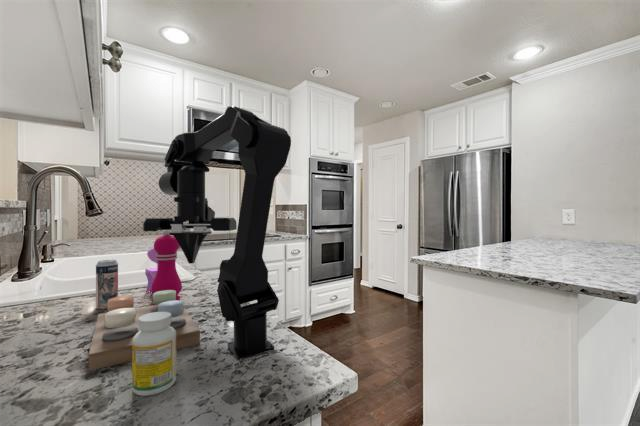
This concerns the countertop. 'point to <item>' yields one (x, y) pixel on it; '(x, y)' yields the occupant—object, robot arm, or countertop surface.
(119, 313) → the cream button
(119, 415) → the countertop surface
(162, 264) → the pepper mill
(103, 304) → the beer can
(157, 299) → the sage button
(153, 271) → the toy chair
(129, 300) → the terracotta button
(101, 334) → the wooden button board
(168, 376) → the supplement bottle
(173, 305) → the slate blue button
